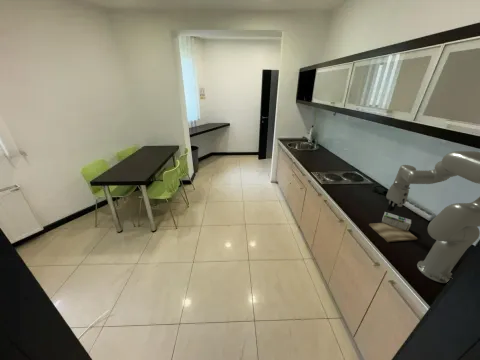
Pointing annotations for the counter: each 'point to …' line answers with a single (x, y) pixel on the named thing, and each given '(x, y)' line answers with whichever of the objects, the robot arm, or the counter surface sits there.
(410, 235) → the oak board
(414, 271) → the counter surface
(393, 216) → the syrup box
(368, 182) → the counter surface
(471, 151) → the robot arm
